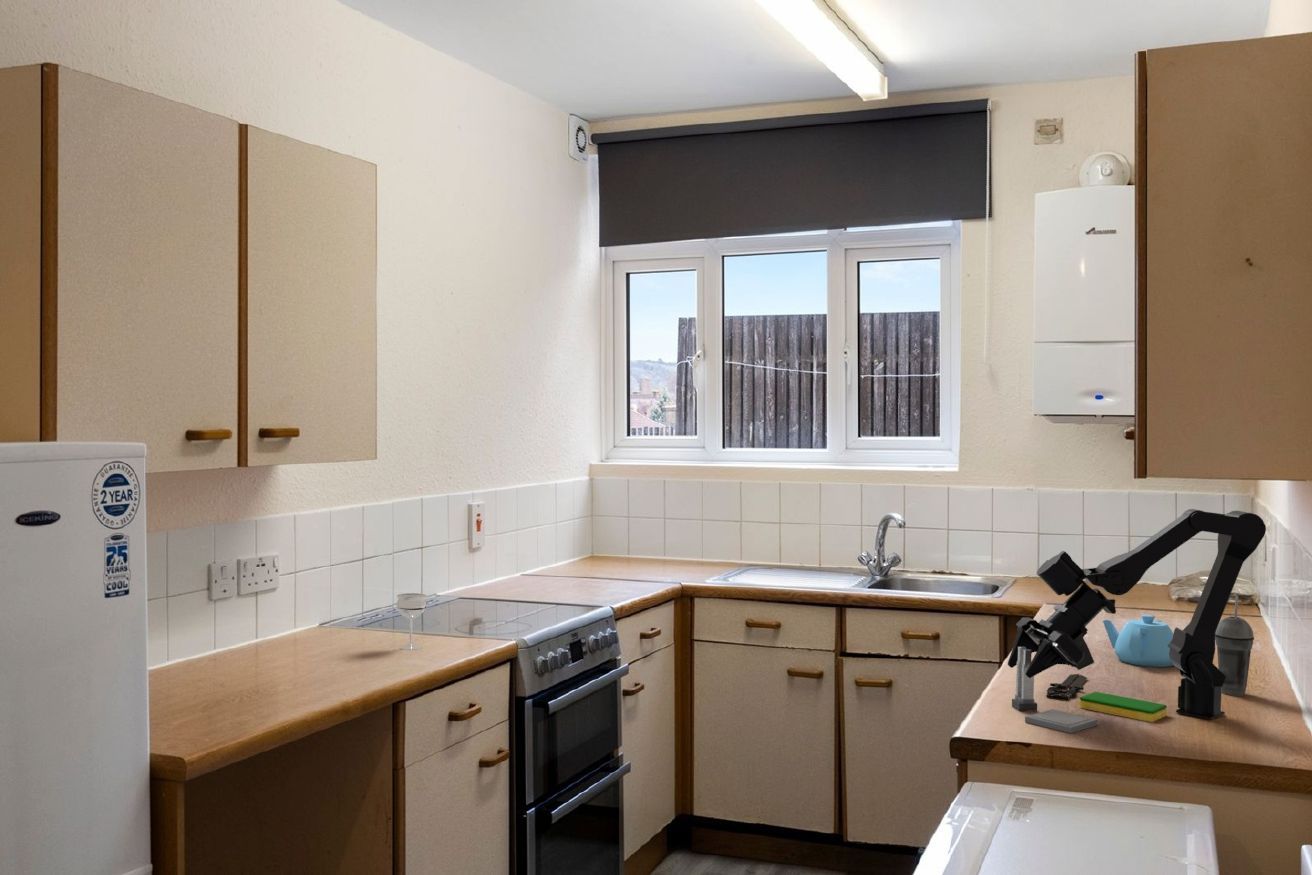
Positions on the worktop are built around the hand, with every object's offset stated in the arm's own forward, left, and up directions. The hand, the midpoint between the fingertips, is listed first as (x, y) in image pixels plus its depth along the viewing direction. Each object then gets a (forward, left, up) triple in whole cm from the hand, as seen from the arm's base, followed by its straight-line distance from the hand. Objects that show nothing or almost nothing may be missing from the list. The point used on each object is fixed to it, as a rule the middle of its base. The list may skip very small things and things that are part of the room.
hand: (1018, 671), depth 214 cm
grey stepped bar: (-1, -1, -7) cm, 7 cm away
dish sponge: (-13, -15, -8) cm, 21 cm away
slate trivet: (-11, +3, -7) cm, 13 cm away
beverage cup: (-19, -48, -7) cm, 52 cm away
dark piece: (+4, -25, -8) cm, 27 cm away
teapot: (+7, -64, -7) cm, 65 cm away
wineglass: (+115, +67, -7) cm, 133 cm away
